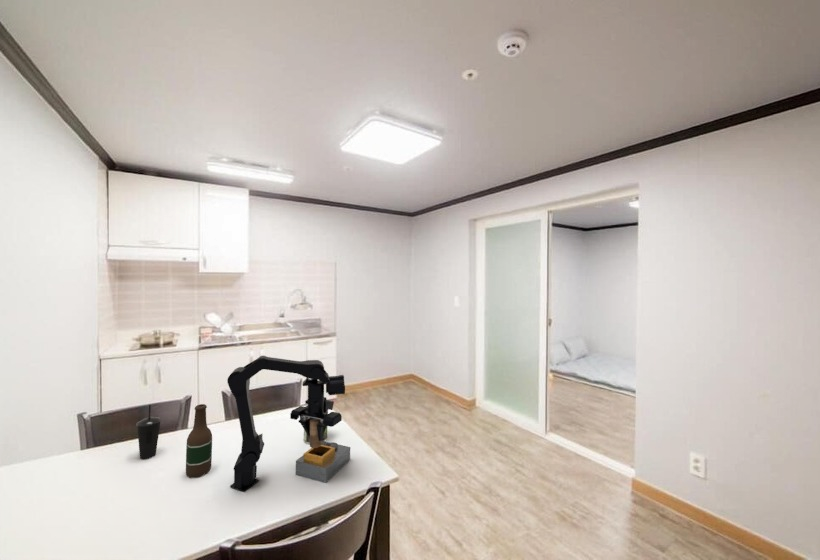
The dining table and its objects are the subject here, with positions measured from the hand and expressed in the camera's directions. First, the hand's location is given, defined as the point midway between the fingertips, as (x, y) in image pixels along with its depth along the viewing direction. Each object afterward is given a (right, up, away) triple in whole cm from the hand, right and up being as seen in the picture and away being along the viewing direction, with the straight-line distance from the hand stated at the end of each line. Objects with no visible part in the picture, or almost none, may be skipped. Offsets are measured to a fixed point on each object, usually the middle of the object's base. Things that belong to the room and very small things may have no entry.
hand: (315, 439), depth 117 cm
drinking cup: (-68, -11, +9) cm, 70 cm away
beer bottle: (-42, -12, -1) cm, 44 cm away
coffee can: (-8, -13, +26) cm, 30 cm away
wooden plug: (0, -2, 0) cm, 2 cm away
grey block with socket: (+2, -13, +4) cm, 13 cm away
